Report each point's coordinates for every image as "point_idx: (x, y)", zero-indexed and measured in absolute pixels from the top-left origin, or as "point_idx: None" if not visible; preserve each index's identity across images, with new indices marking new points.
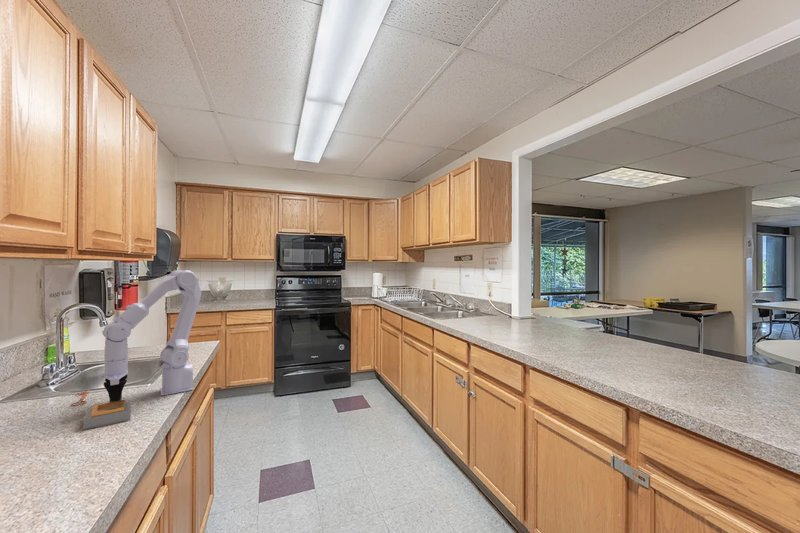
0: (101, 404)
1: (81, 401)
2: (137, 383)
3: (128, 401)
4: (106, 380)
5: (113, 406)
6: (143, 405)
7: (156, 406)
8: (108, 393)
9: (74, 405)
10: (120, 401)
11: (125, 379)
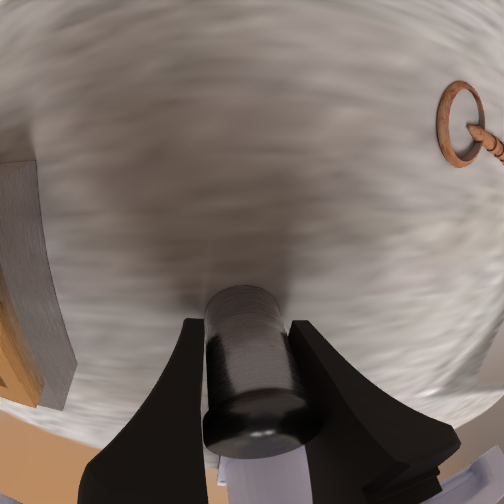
0: None
1: (480, 145)
2: (479, 354)
3: (57, 403)
4: (386, 468)
5: None
6: (130, 403)
7: (90, 422)
8: (152, 391)
9: (447, 95)
10: (5, 387)
11: (313, 501)
